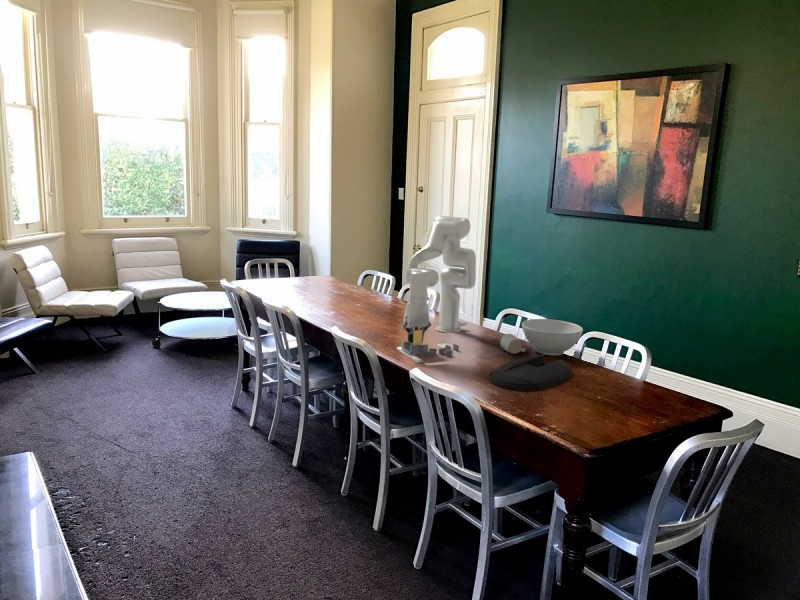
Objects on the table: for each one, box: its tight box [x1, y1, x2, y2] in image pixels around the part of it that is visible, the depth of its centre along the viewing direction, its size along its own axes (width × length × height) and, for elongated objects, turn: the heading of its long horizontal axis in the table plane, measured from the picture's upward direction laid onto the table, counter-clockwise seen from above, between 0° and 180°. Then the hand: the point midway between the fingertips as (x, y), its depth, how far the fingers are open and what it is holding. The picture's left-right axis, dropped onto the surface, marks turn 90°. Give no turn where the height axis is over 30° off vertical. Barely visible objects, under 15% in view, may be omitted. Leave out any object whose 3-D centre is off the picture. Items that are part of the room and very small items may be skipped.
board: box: [396, 343, 460, 364], centre depth 267 cm, size 25×20×4 cm
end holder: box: [401, 340, 429, 356], centre depth 264 cm, size 8×8×4 cm
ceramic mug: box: [499, 333, 526, 355], centre depth 274 cm, size 11×8×8 cm
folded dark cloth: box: [488, 355, 573, 392], centre depth 242 cm, size 25×40×5 cm, turn 139°
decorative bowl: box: [521, 318, 584, 356], centre depth 277 cm, size 27×27×12 cm
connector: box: [409, 327, 423, 345], centre depth 262 cm, size 4×4×8 cm
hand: (415, 341), depth 263 cm, fingers closed on connector, 4 cm apart
